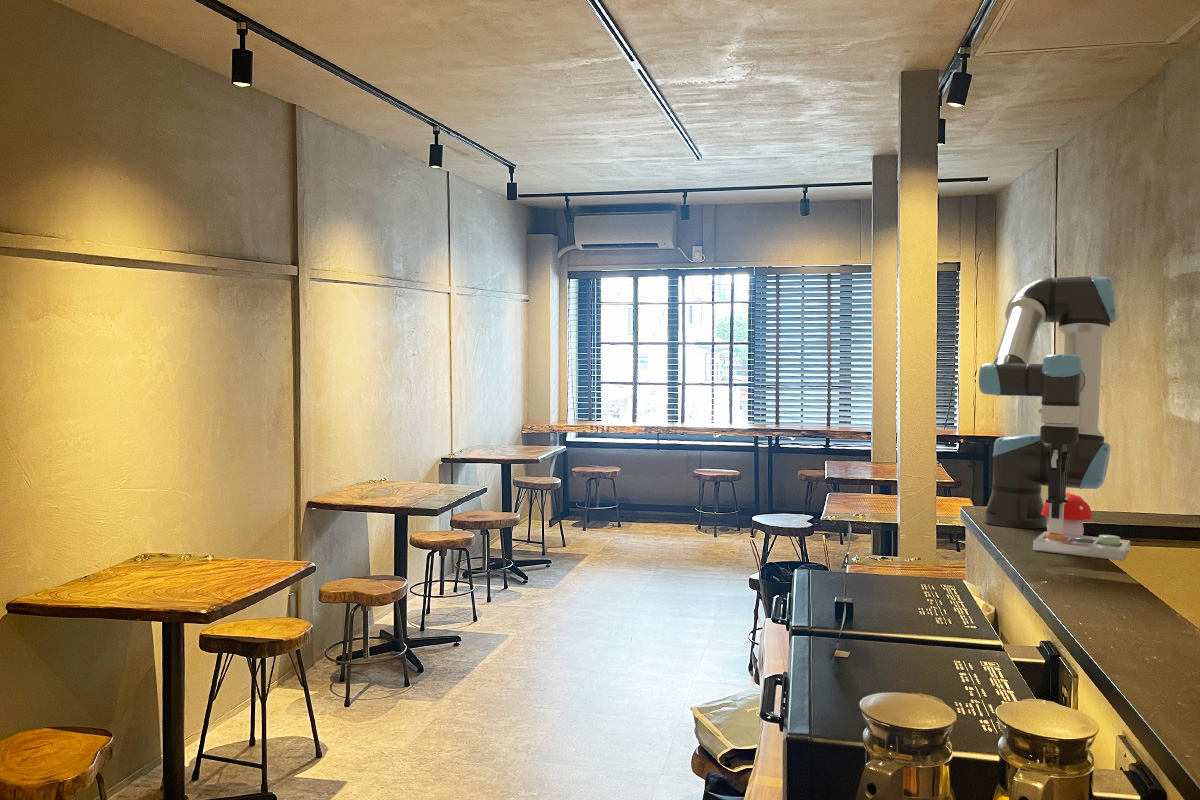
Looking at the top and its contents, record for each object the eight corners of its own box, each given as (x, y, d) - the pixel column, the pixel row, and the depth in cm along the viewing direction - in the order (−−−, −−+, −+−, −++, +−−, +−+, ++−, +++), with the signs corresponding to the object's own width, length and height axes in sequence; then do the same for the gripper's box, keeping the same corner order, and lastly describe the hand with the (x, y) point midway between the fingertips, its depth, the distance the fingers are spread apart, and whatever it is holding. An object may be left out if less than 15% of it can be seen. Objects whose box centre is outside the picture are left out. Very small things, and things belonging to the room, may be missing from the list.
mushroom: (1056, 538, 224) (1058, 488, 223) (1101, 545, 214) (1103, 494, 214) (1030, 542, 218) (1032, 491, 217) (1076, 550, 209) (1078, 497, 208)
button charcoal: (1072, 545, 204) (1073, 535, 204) (1093, 548, 202) (1093, 537, 202) (1070, 548, 201) (1070, 538, 201) (1090, 550, 199) (1091, 540, 199)
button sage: (1099, 544, 201) (1100, 534, 201) (1120, 546, 199) (1121, 536, 199) (1097, 547, 198) (1097, 536, 198) (1118, 549, 196) (1119, 539, 196)
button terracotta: (1046, 541, 207) (1047, 531, 207) (1066, 543, 205) (1067, 533, 205) (1043, 543, 204) (1044, 533, 204) (1063, 546, 202) (1064, 536, 202)
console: (1044, 546, 212) (1044, 531, 212) (1129, 556, 203) (1130, 540, 202) (1032, 556, 201) (1033, 540, 201) (1122, 567, 191) (1123, 550, 191)
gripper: (1045, 423, 211) (1042, 526, 212) (1035, 425, 200) (1031, 534, 201) (1082, 424, 207) (1078, 530, 207) (1074, 427, 196) (1070, 538, 197)
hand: (1055, 532), depth 204 cm, fingers closed
